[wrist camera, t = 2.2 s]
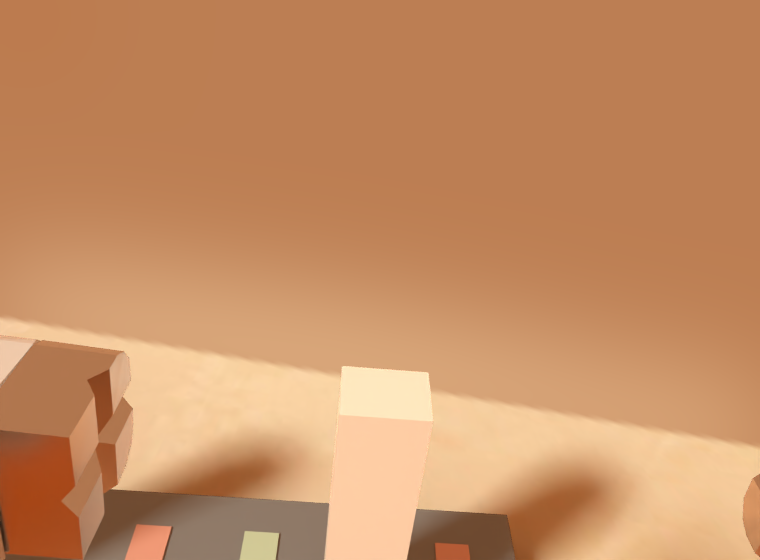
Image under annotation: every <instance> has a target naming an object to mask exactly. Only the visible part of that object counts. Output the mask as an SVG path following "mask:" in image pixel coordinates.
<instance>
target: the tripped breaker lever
mask: <svg viewBox="0 0 760 560" xmlns="http://www.w3.org/2000/svg"><path fill="white" fill-rule="evenodd" d="M432 425H433V415H432V404H431V394H430V383H429V373H425V372H413V371H399V370H386V369H374V368H360V367H347V366H342V374H341V385H340V395H339V406H338V417H337V427H336V438H335V449H334V460H333V470H332V481H331V492H330V502H329V513H328V524H327V534H326V545H325V556H324V560H407V555H408V550H409V545H410V540H411V534H412V529H413V524H414V519H415V514H416V508H417V503H418V498H419V493H420V487H421V482H422V477H423V472H424V466H425V461H426V456H427V451H428V445H429V440H430V435H431V430H432Z"/></svg>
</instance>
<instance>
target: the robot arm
mask: <svg viewBox="0 0 760 560" xmlns="http://www.w3.org/2000/svg"><path fill="white" fill-rule="evenodd" d="M130 381H131V374H130V363H129V357H128V356H127V355H126V353H125V352H124V351H117V350H110V349H103V348H95V347H88V346H81V345H73V344H66V343H59V342H52V341H44V340H42V341H39V340H35V339H27V338H19V337H11V336H2V335H0V560H4V559H5V557H6V556H5V554H16V555H29V556H42V557H56V558H69V559H82V560H83V559H84V557H85V554H86V552H87V550H88V548H89V546H90V544H91V542H92V539H93V537H94V535H95V533H96V531H97V529H98V526H99V524H100V522H101V520H102V518H103V516H104V514H105V512H104V499H103V494H104V493H105V492H107V491H108V490H110V489H111V488H113V487H114V486H116V485H118V483H119V480H120V478H121V476H122V473H123V471H124V469H125V466H126V463H127V459H128V455H129V451H130V447H131V443H132V433H133V408H132V407H131V406H130V405H129V404H128V403H127V401H126V400H125V399H124V398H123V397H122V396H123V395H124V393H125V391H126V389H127V387H128V385H129V383H130ZM743 522H744V527H745V531H746V535H747V538H748V540H749V542H750V544H751V546H752V548H753V550H754V552H755V553H756V554H757V555H758V556H759V557H760V474H759V475H757V476H756V477H754V478H753V479H752V481H751V484H750V486H749V488H748V490H747V492H746V494H745V497H744V504H743Z"/></svg>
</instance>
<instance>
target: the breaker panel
mask: <svg viewBox="0 0 760 560" xmlns="http://www.w3.org/2000/svg"><path fill="white" fill-rule="evenodd" d="M103 499H104V512H105V514H104V516H103V518H102V520H101V522H100V524H99V526H98V529H97V531H96V533H95V535H94V537H93V539H92V542H91V544H90V546H89V548H88V550H87V552H86V554H85V557H84V559H83V560H324V556H325V545H326V534H327V524H328V513H329V503H313V502H298V501H282V500H266V499H251V498H235V497H220V496H204V495H189V494H173V493H158V492H142V491H127V490H111V489H110V490H108V491H107V492H105V493H104V494H103ZM5 556H6V557H5V559H4V560H82V559H69V558H56V557H42V556H29V555H16V554H5ZM407 560H515V555H514V550H513V545H512V539H511V534H510V529H509V523H508V518H507V515H500V514H484V513H469V512H453V511H438V510H422V509H416V514H415V519H414V524H413V529H412V534H411V540H410V545H409V550H408V555H407Z"/></svg>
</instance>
